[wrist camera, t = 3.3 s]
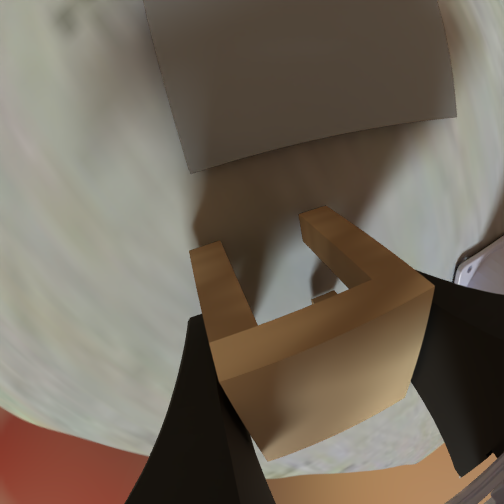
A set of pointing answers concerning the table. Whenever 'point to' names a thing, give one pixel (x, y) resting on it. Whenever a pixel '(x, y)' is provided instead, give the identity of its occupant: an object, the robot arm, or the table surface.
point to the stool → (316, 339)
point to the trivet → (296, 70)
